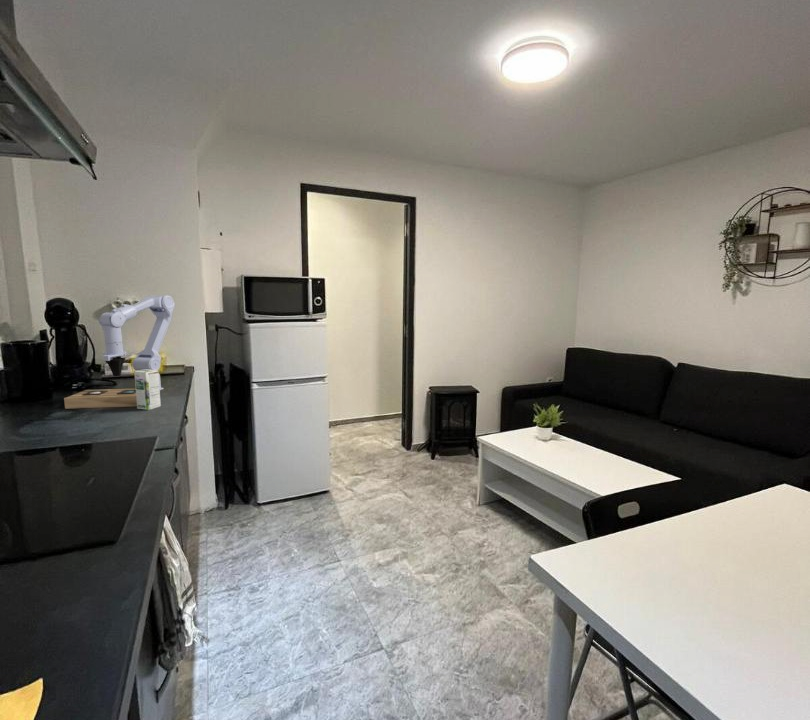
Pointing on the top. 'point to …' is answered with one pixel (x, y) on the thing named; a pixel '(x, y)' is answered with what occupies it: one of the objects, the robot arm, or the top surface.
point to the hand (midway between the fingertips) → (117, 375)
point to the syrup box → (147, 389)
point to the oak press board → (101, 399)
